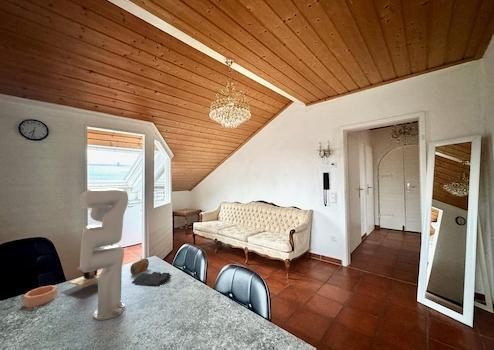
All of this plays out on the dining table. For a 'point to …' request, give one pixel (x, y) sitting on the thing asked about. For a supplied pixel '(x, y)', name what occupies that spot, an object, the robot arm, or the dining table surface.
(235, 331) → the dining table surface
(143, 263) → the tin
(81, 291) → the rubber mat
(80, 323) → the dining table surface
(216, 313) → the dining table surface
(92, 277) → the beech lid
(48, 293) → the terracotta bowl
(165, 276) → the dark slate chunk
